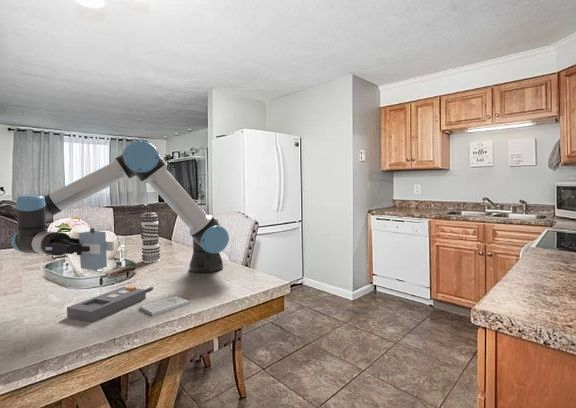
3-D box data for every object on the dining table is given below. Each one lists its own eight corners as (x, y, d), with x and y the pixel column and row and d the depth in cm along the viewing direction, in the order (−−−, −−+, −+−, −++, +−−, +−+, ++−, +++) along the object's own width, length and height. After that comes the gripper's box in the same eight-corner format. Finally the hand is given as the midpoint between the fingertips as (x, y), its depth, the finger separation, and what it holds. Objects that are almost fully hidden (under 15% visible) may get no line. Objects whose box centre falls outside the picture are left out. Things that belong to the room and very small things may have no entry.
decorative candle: (164, 259, 164) (163, 212, 162) (150, 263, 156) (148, 213, 154) (152, 258, 168) (150, 211, 166) (137, 262, 159) (135, 213, 158)
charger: (92, 265, 100) (91, 227, 99) (106, 266, 98) (105, 228, 97) (80, 268, 96) (78, 228, 95) (95, 270, 94) (93, 229, 93)
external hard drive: (139, 311, 98) (175, 299, 108) (152, 318, 93) (188, 305, 103) (139, 306, 98) (175, 295, 108) (152, 312, 93) (188, 300, 103)
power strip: (142, 287, 119) (142, 277, 119) (163, 290, 116) (163, 280, 115) (67, 317, 92) (66, 304, 92) (91, 322, 89) (91, 309, 89)
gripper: (78, 249, 111) (129, 254, 103) (24, 260, 95) (79, 267, 87) (77, 228, 110) (128, 231, 103) (22, 236, 94) (78, 240, 86)
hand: (106, 247), depth 95 cm, fingers closed on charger, 4 cm apart
